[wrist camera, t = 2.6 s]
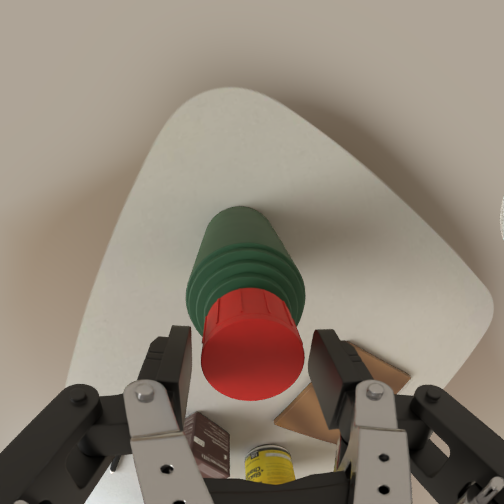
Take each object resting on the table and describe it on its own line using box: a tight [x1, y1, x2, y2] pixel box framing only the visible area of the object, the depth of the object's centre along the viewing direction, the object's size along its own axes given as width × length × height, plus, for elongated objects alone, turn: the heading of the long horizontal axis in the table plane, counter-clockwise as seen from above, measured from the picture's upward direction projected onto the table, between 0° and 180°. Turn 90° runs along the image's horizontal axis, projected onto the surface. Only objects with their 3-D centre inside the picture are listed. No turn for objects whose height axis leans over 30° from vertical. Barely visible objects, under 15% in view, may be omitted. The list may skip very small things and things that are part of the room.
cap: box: [201, 288, 305, 401], centre depth 13 cm, size 4×4×3 cm
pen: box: [110, 455, 121, 474], centre depth 36 cm, size 1×19×1 cm, turn 154°
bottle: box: [186, 207, 305, 337], centre depth 20 cm, size 6×6×18 cm
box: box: [183, 412, 230, 479], centre depth 32 cm, size 6×6×7 cm
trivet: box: [274, 341, 411, 444], centre depth 35 cm, size 14×12×1 cm
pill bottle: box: [245, 445, 295, 485], centre depth 32 cm, size 6×6×12 cm
